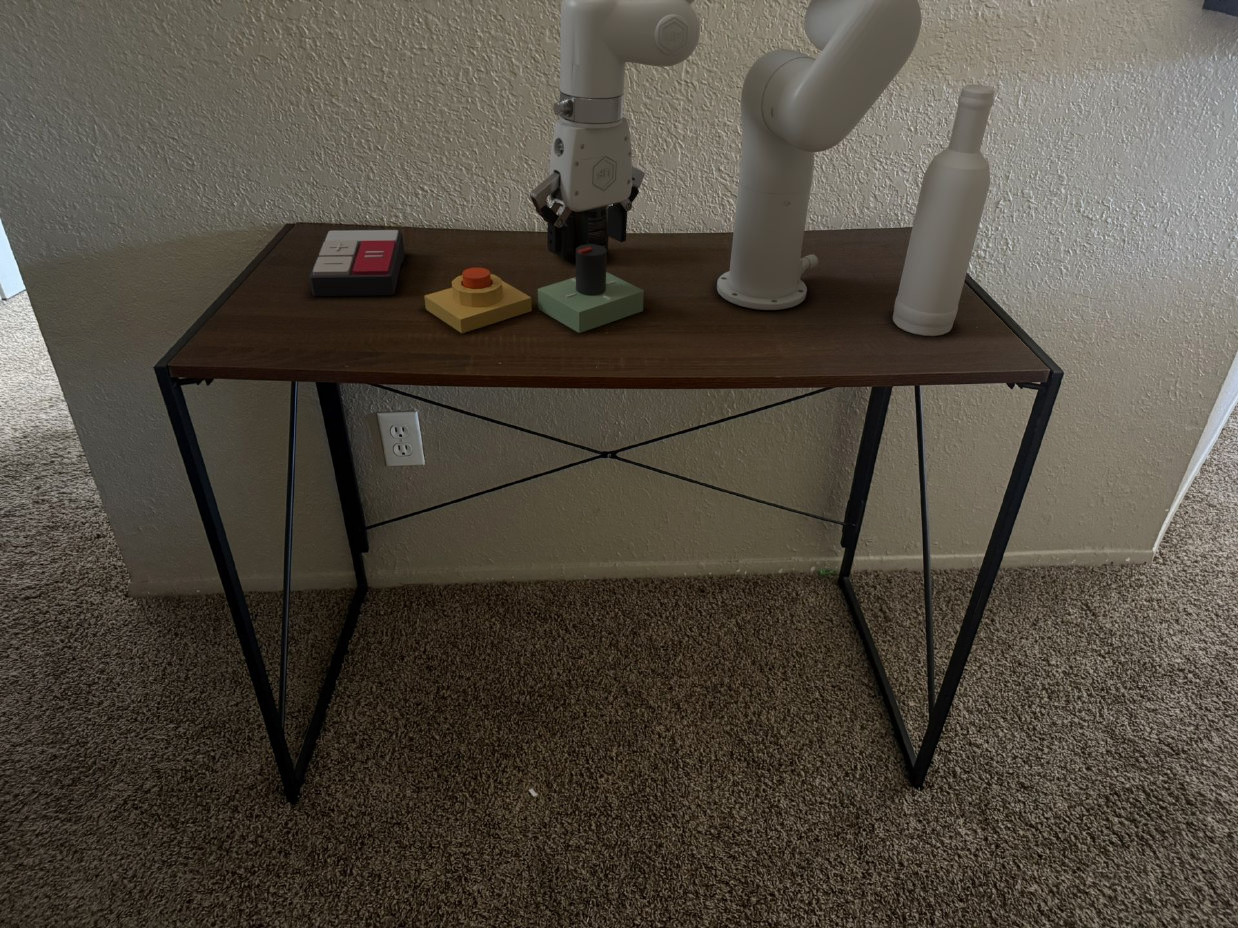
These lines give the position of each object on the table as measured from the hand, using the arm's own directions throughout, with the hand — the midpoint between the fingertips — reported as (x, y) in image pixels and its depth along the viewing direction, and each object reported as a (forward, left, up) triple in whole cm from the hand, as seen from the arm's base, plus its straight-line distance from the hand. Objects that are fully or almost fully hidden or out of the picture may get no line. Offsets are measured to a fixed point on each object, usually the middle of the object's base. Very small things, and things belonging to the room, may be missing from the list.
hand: (587, 246), depth 117 cm
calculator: (+19, -29, -9) cm, 35 cm away
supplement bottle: (-11, -15, -9) cm, 21 cm away
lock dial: (0, 0, -6) cm, 6 cm away
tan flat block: (+12, -9, -9) cm, 17 cm away
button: (+12, -9, -6) cm, 15 cm away
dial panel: (0, 0, -9) cm, 9 cm away
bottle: (-33, +30, -9) cm, 46 cm away
